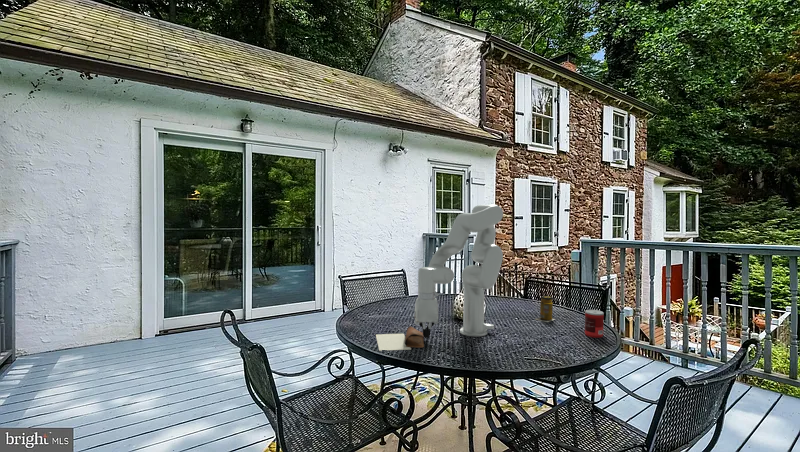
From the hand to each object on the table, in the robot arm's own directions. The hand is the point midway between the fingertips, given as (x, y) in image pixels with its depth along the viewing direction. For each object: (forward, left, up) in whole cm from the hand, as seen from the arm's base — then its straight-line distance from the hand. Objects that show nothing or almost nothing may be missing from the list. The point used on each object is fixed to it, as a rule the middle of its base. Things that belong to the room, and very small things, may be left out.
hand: (426, 337), depth 173 cm
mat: (+15, 0, -1) cm, 15 cm away
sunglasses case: (+5, 0, -2) cm, 5 cm away
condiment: (-69, -26, -2) cm, 74 cm away
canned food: (-78, +2, -2) cm, 78 cm away
